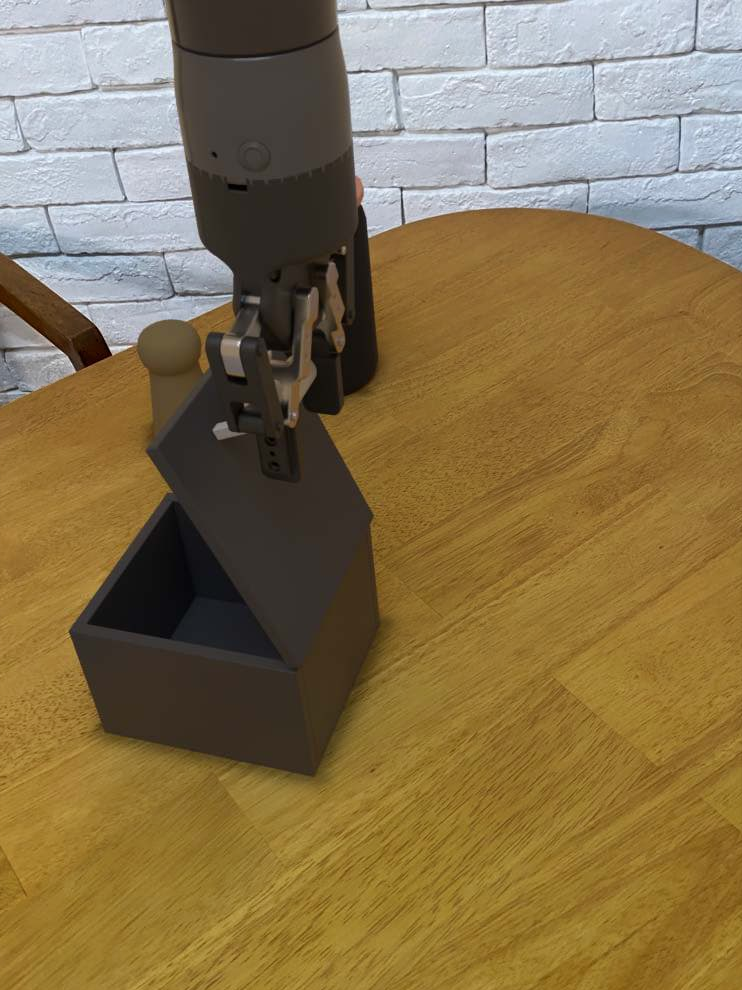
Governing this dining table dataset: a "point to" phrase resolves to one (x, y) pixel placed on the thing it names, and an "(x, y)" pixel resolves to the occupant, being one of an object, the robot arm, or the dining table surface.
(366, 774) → the dining table surface
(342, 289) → the robot arm
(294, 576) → the lid
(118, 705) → the dark brown wooden box
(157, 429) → the tan peg doll
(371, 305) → the coffee jar
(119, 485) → the dining table surface
